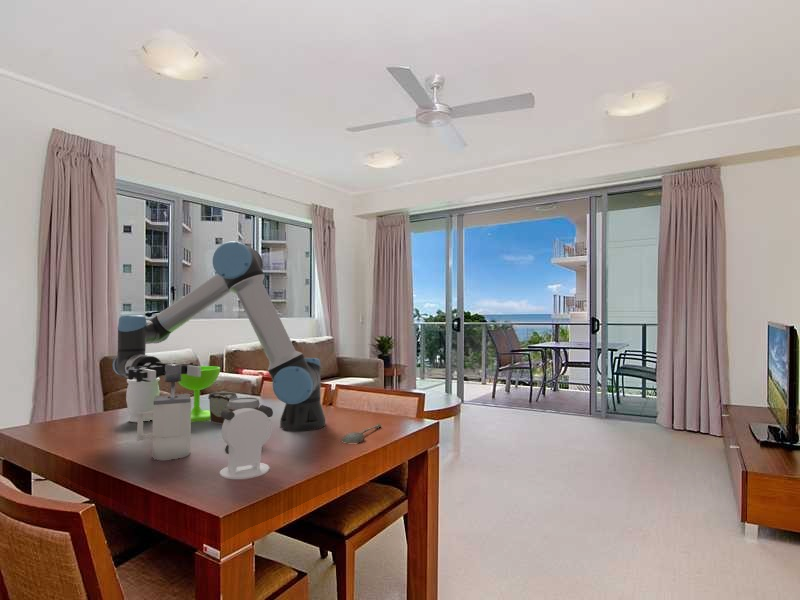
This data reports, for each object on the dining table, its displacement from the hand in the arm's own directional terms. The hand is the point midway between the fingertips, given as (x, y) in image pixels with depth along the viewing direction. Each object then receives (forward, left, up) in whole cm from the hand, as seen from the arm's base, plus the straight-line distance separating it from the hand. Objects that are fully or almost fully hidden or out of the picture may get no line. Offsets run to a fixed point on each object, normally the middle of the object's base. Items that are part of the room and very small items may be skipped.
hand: (177, 373), depth 124 cm
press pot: (+4, 0, -22) cm, 22 cm away
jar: (+40, -37, -22) cm, 59 cm away
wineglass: (+24, -45, -22) cm, 56 cm away
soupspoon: (-43, -31, -23) cm, 58 cm away
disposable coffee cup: (-9, -19, -22) cm, 31 cm away
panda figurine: (-24, +7, -22) cm, 33 cm away
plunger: (+2, -1, -15) cm, 15 cm away
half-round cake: (+9, -40, -22) cm, 47 cm away
